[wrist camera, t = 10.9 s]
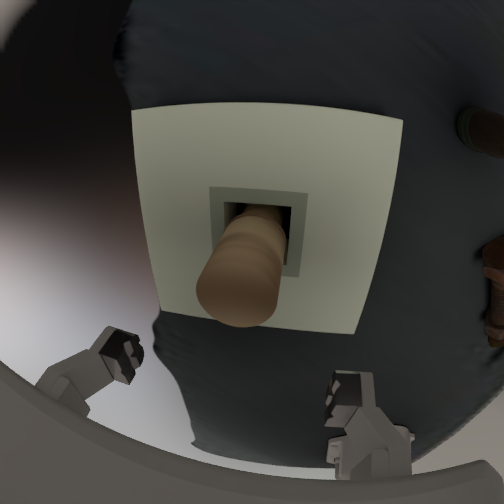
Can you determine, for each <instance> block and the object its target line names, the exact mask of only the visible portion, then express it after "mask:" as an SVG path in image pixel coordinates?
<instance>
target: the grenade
mask: <svg viewBox="0 0 504 504" xmlns="http://www.w3.org/2000/svg"><path fill="white" fill-rule="evenodd" d="M457 129H458V133H459V136H460V137H461V139H462V141H463V143H464V144H465V145H466V146H467V147H468V148H470V149H472V150H474V151H476V152H481V153H486V154H488V155H491V156H493V157H496V158H504V117H503V116H502V115H500V114H497V113H492V112H488V111H486V110H484V109H482V108H480V107H469V108H467V109H465V110H464V111H462V113H461V114H460V115H459V118H458V121H457Z"/></svg>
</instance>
